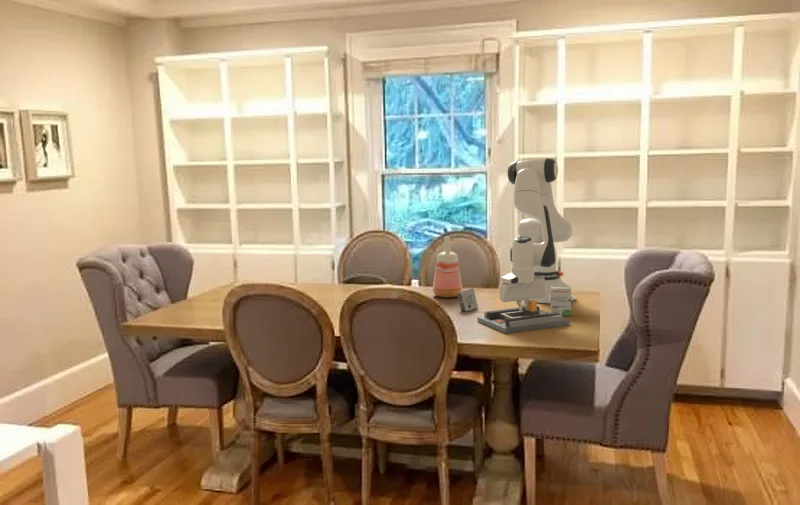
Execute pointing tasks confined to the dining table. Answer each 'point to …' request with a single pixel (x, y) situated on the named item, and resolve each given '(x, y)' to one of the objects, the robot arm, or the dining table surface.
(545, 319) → the pair of panel rails
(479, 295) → the dining table surface
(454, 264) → the vase
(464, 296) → the electrical switch
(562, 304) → the ink box
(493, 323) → the panel
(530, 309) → the lever
